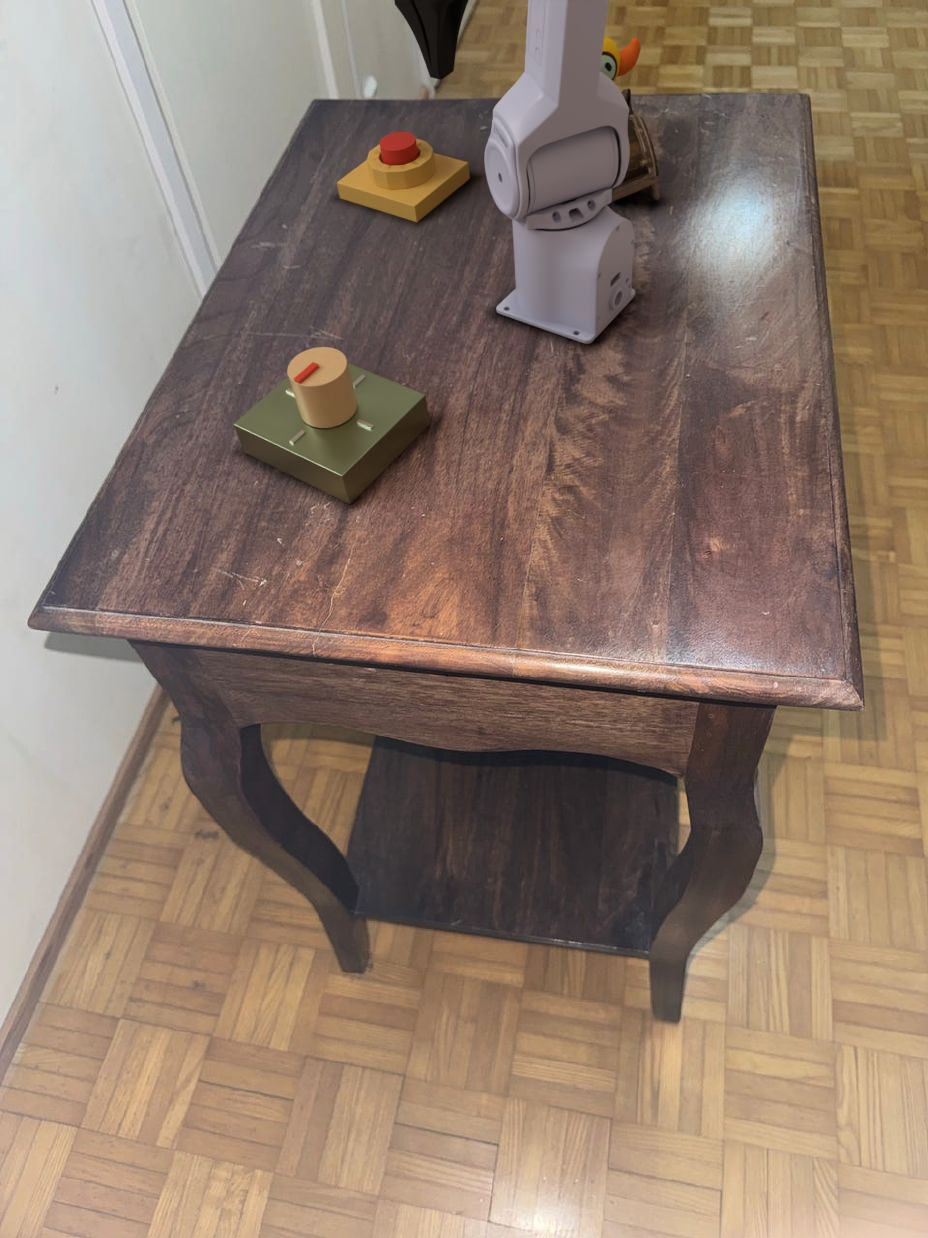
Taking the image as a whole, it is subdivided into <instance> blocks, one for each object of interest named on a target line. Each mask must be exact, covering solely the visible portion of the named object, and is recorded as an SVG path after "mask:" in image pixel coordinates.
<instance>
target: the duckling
mask: <svg viewBox="0 0 928 1238" xmlns="http://www.w3.org/2000/svg"><path fill="white" fill-rule="evenodd" d="M641 49H642V47H641V41H640V40H639V38H638V37H633V38H632V40H631V41H630V43H629V44H628V45H626V47H624V48H623V49H621V50H620V49H619V46H618V45H617V43H616V42H615V41H614V40H613V39H612V38H610V37H608V36H605V35H604V42H603V50H602V58H601V65H600V72H602V73H603V74H605V75H606V76H607V77H609V78H610V79H611V80H612V81H613V82H614V83H615V82H616V80H617V79H618V77H621V76H622V77H623V76H624V75H627V74H628V73H629V72H630V71H631V70H633V68H634V67H635V66H636V64H637V63H638V59H639V57H640V53H641Z"/></svg>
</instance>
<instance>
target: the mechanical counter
mask: <svg viewBox="0 0 928 1238" xmlns="http://www.w3.org/2000/svg"><path fill="white" fill-rule="evenodd" d="M628 139H629V148H630V156H629V164H628V168H627V171H626V174H625V177H624V179H623V181H622V183H621V184H620V185H618V186H617V187H615V188H612V199H611V203H615V202H617V201H619V200H622V199H624V198H626V197H628V196H630V195H631V196H632V195H633V194H635V193H638V192H640V191H643V190H645V189H649V192H650V194H651V197H652V198H653V200H654V201H659V199H660V197H661V196H660V195H661V194H660V188H659V182H658V176H659V173H660V170H659V166H658V160H657V155H656V151H655V148H654V144H653V142H652V139H651V136H650V133H649V129H648V126H647V124H646V122H645V120H644V118H643V117H642V116H641V115H640V114H638V113H634V114H632V115H629V116H628Z"/></svg>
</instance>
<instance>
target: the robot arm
mask: <svg viewBox="0 0 928 1238" xmlns="http://www.w3.org/2000/svg"><path fill="white" fill-rule="evenodd" d="M393 1H394V5H395V7H396V8H397V9H398V11H399V12H400V13H401V15H402V16H403V18H404V19H405V21H406V23H407V24H408V26H409V28H410V31H411V32H412V33H413V36H414V39H415V40H416V42H417V45H418V48H419V50H420V53H421V56H422V58H423V61H424V63H425V66H426V69H427V72H428V75H429V77H430V78H432V79H436V80H441V81H442V80H443V79H445V78H446V77H448V76H449V75H451V74H452V73H453V72H454V71H455V62H456V52H457V47H458V46H457V45H458V40H459V34H460V30H461V25H462V21H463V18H464V14H465V11H466V8H467V6H468V3H469V1H470V0H393ZM609 3H610V0H527V17H526V18H527V19H526V38H525V57H524V58H525V59H524V71H523V73H522V74H521V76H520V77H519V78H518V79H517V80H516V82H515V83H514V84H513V85H512V86H511V87H510V88H509V89H508V90H507V91H506V93H505V94H503V96H502V97H501V98H500V100H499V101H498V102H497V103H496V104H495V106H494V107H493V109H492V120H491V128H490V133H489V137H488V139H487V143H486V145H485V149H484V155H483V156H484V157H483V158H484V159H483V160H484V170H485V177H486V181H487V185H488V188H489V191H490V194H491V196H492V199H493V201H494V203H495V204H496V206H497V208H498V209H499V211H500V212H501V213H502V214H504V215H505V216H506V217H507V218H508V219H510V220H511V223H512V240H513V241H512V242H513V243H512V245H513V258H514V259H513V261H514V262H513V263H514V274H515V275H514V276H515V277H514V279H515V288H514V289H513V290H512V291H511V292H510V293H509V294H508V295H507V296H506V297H505V298H504V299H503V300H502V301H501V302H499V303H498V304H497V306H496V313H497V314H499V315H502V316H505V317H507V318H510V319H512V320H515V321H519V322H521V323H524V324H527V325H530V326H533V327H536V328H539V329H541V330H544V331H547V332H550V333H552V334H555V335H559V336H561V337H564V338H568V339H571V340H573V341H575V342H578V343H582V344H585V345H589V344H592V343H593V342H594V341H595V339H597V338H598V337H599V335H601V333H602V332H603V331H604V330H605V329H606V328H607V327H608V325H610V323H611V322H612V321H613V320H614V319H615V318H617V316H618V315H619V314H620V313H621V312H622V310H623V309H624V308H625V307H626V306H627V305H628V304H629V303H630V302H631V301H632V300H633V298H635V296H636V289H634V288H632V287H633V273H634V272H633V270H634V254H635V239H636V238H635V237H636V236H635V228H634V225H633V223H632V221H631V220H629V219H627V218H626V217H623V216H621V215H620V214H618V213H617V212H615V211H613V209H612V208H610V207H609V206H608V205H609V204H611V203H612V202H611V199H612V188H615V187H617V186H618V185H620V184H621V183H622V181H623V179H624V177H625V174H626V171H627V168H628V164H629V156H630V148H629V139H628V115H629V107H628V105H627V103H626V101H625V99H624V96H623V94H622V93H621V89H620V88H619V87H618V85H617V84H616V83H615V82H613V81H612V80H611V79H610V78H609V77H607V76H606V75H605V74H603V73H602V72H600V65H601V58H602V50H603V42H604V36H605V33H606V27H607V26H606V25H607V17H608V12H609V11H608V10H609Z"/></svg>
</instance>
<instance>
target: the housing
mask: <svg viewBox="0 0 928 1238" xmlns="http://www.w3.org/2000/svg"><path fill="white" fill-rule="evenodd" d="M416 143H417V150H418V158H417V159H416V160H414V161H413V162H411V163H408V164H405V165H395V166H390V165H387V164H384V163H383V161H382V156H381V150H380V143H378V144H377V145H376V146H375V147H373V148H372V149H371V150H369V151H368V155H367V157H366V160H365V161H363V162H362V163H361V164H359V165H358V166H357V167H356V168H354V169H352V170H351V171H349V173H347V174H346V175H345V176H342V178H341V179H339V180H338V181H337V182H336V186H337V190H338V195H339V199H341V200H344V201H348V202H351V203H354V204H356V205H360V206H363V207H367V208H370V209H374V210H376V211H380V212H383V213H386V214H388V215H392V216H395V217H399V218H402V219H405V220H408V221H412V222H415V223H418V222H419V221H420V220H422V219H423V218H424V217H425V216H427V215H428V214H429V213H430V212H431V211H432V210H434V209H435V208H436V207H437V206H439V205H440V204H441V203H442V202H443V201H445V200H446V199H447V198H449V197H450V196H451V195H452V194H453V193H454V192H455V191H457V190H458V189H459V188H461V187H462V186H463V185H464V184H465V183H467V181H469V180H470V178H471V176H470V166H469V165H470V164H469V162H468V161H466V160H465V161H464V160H461V159H457V158H454V157H450V156H446V155H443V154H439V153H435V152H434V148H433V147H432V146H431V145H430V144H429V142H427V141H426V140H423V139H420V138H416Z"/></svg>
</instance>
